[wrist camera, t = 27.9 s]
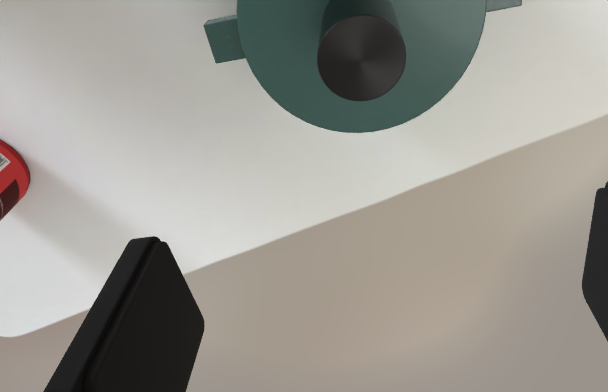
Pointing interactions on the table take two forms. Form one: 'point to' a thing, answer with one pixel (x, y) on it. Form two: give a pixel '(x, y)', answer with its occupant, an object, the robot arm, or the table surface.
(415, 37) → the lid
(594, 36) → the table surface
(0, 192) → the canned food
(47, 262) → the table surface
